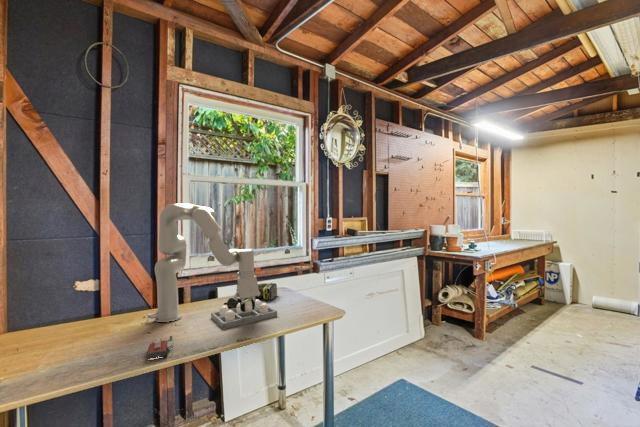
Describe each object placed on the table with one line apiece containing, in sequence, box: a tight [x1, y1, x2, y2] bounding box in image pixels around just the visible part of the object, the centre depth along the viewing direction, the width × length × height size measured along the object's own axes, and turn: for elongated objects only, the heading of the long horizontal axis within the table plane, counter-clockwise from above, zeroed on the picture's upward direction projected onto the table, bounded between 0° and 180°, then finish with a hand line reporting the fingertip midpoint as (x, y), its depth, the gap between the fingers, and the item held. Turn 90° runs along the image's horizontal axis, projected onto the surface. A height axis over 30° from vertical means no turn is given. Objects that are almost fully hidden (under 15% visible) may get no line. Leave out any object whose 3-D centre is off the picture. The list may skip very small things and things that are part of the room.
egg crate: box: [210, 298, 278, 330], centre depth 162 cm, size 28×19×6 cm
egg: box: [244, 299, 252, 313], centre depth 158 cm, size 4×4×6 cm
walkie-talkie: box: [146, 335, 174, 359], centre depth 126 cm, size 9×4×20 cm
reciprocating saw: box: [223, 282, 278, 309], centre depth 190 cm, size 10×43×20 cm
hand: (247, 309), depth 158 cm, fingers closed on egg, 4 cm apart
